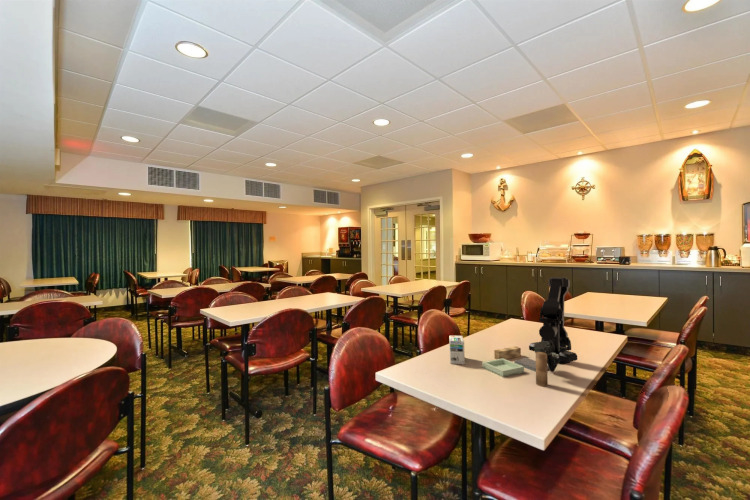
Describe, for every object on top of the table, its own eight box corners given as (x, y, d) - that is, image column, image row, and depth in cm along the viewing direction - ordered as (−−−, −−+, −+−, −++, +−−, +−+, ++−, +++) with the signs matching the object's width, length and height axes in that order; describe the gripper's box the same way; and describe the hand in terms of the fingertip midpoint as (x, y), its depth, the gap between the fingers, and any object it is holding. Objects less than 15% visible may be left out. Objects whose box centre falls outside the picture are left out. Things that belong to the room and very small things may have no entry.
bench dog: (515, 354, 164) (515, 346, 164) (520, 356, 161) (520, 348, 161) (494, 358, 158) (494, 350, 158) (499, 360, 155) (499, 351, 155)
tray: (502, 363, 150) (502, 358, 150) (524, 372, 139) (524, 366, 139) (482, 367, 146) (482, 362, 146) (502, 377, 135) (502, 371, 135)
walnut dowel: (541, 381, 130) (540, 351, 130) (549, 385, 126) (549, 354, 126) (533, 383, 128) (533, 352, 128) (542, 387, 124) (542, 355, 124)
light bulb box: (464, 364, 150) (464, 341, 150) (449, 363, 151) (449, 340, 151) (463, 357, 161) (463, 335, 161) (449, 356, 162) (449, 334, 162)
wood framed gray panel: (526, 362, 154) (526, 357, 154) (549, 370, 143) (549, 365, 143) (514, 364, 151) (514, 360, 151) (536, 373, 140) (536, 368, 140)
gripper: (519, 332, 143) (520, 367, 143) (558, 342, 126) (559, 383, 125) (537, 329, 147) (538, 363, 147) (577, 339, 130) (578, 378, 130)
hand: (552, 371), depth 137 cm, fingers closed
